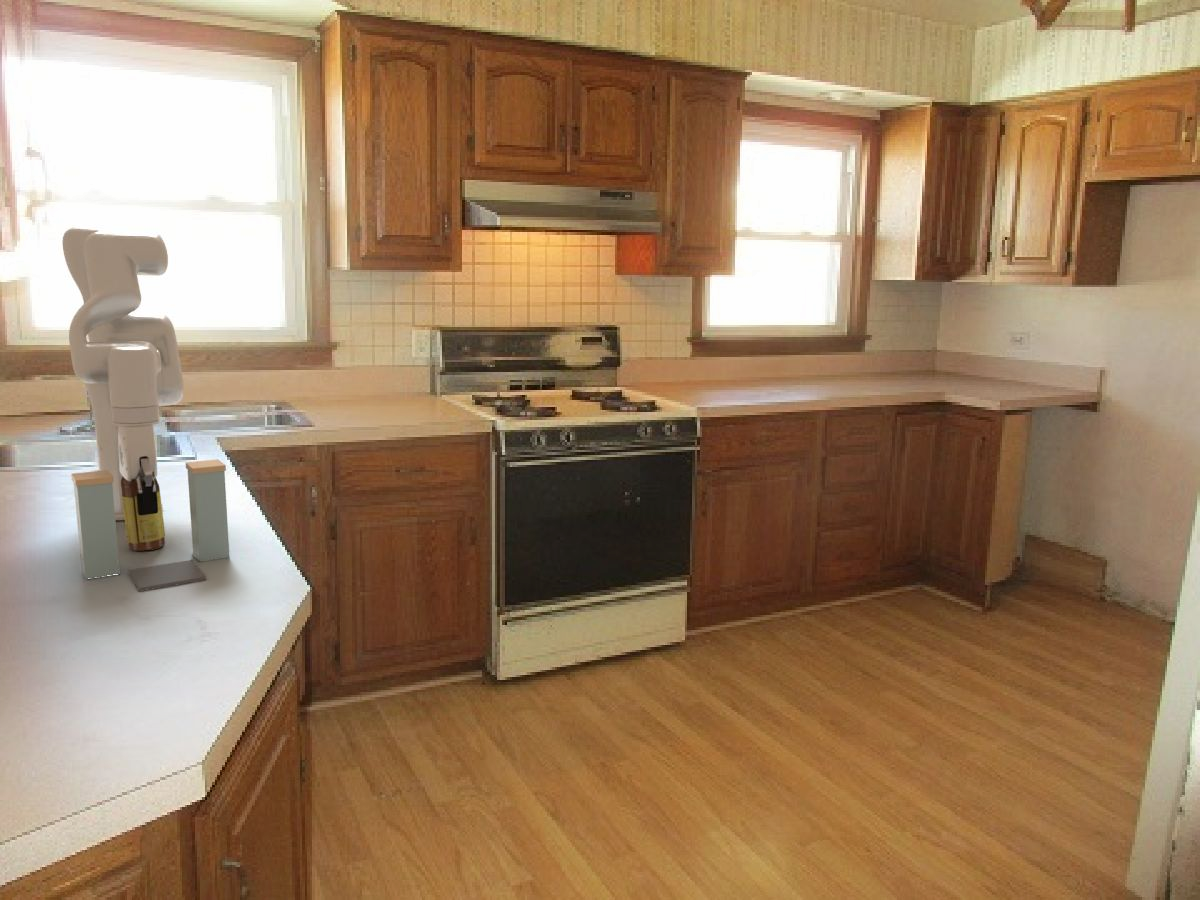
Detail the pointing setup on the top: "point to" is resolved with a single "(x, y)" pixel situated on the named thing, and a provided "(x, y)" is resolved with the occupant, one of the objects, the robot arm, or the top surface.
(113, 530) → the canister
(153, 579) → the plate
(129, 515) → the sauce bottle
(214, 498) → the canister
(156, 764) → the top surface
